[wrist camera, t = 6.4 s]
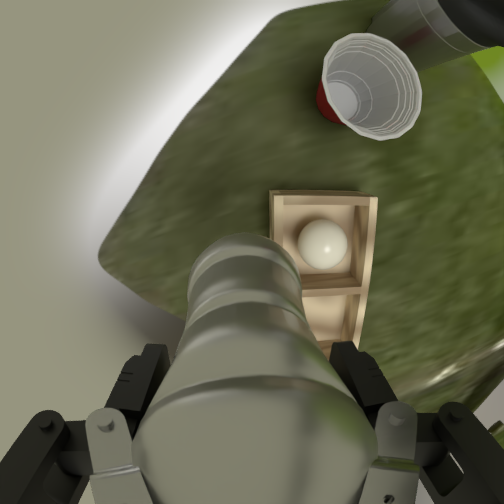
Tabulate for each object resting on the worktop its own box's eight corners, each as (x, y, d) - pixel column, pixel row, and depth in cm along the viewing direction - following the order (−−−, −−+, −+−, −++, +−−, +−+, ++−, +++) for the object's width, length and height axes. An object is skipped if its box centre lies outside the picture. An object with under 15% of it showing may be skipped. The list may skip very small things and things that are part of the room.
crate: (269, 190, 36) (274, 195, 31) (360, 191, 36) (377, 197, 31) (268, 346, 43) (271, 369, 38) (344, 340, 44) (354, 361, 38)
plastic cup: (342, 161, 35) (384, 164, 24) (279, 102, 33) (296, 77, 21) (390, 107, 33) (442, 94, 21) (332, 50, 30) (367, 14, 19)
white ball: (294, 214, 36) (303, 225, 31) (340, 214, 37) (356, 225, 31) (293, 260, 38) (301, 278, 33) (337, 259, 38) (352, 276, 33)
